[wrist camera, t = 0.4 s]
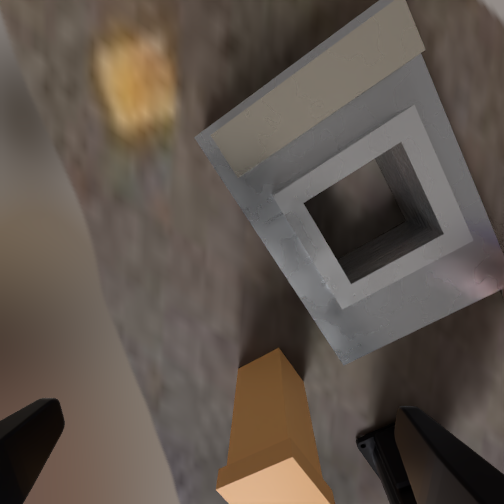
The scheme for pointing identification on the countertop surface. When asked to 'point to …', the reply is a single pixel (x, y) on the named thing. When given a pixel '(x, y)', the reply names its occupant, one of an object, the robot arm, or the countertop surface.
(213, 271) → the countertop surface
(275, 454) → the wedge pin
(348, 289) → the grey socket base
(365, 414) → the countertop surface
